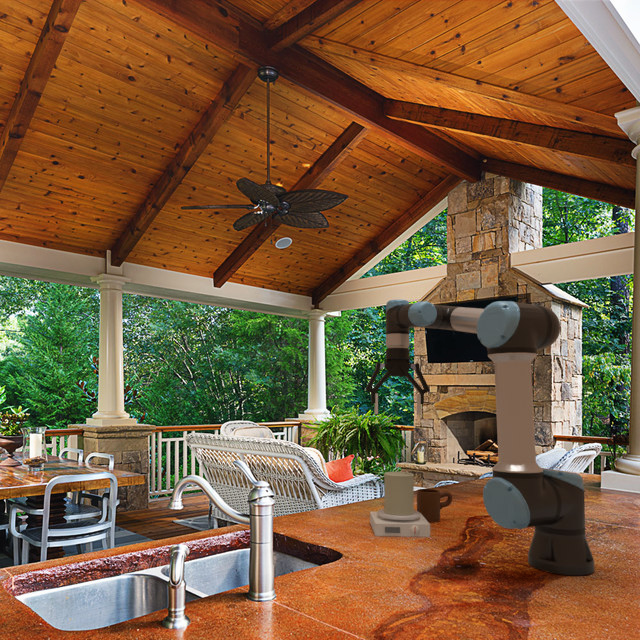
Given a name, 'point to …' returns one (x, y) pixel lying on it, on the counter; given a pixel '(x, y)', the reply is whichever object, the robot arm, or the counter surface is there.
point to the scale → (399, 524)
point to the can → (399, 493)
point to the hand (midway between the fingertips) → (397, 414)
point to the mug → (431, 503)
